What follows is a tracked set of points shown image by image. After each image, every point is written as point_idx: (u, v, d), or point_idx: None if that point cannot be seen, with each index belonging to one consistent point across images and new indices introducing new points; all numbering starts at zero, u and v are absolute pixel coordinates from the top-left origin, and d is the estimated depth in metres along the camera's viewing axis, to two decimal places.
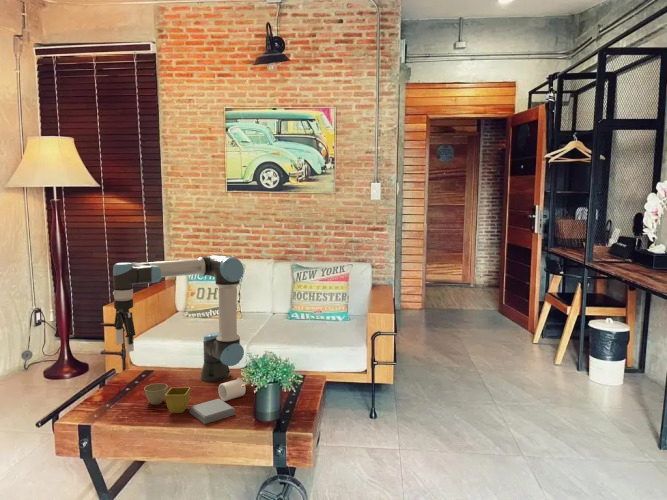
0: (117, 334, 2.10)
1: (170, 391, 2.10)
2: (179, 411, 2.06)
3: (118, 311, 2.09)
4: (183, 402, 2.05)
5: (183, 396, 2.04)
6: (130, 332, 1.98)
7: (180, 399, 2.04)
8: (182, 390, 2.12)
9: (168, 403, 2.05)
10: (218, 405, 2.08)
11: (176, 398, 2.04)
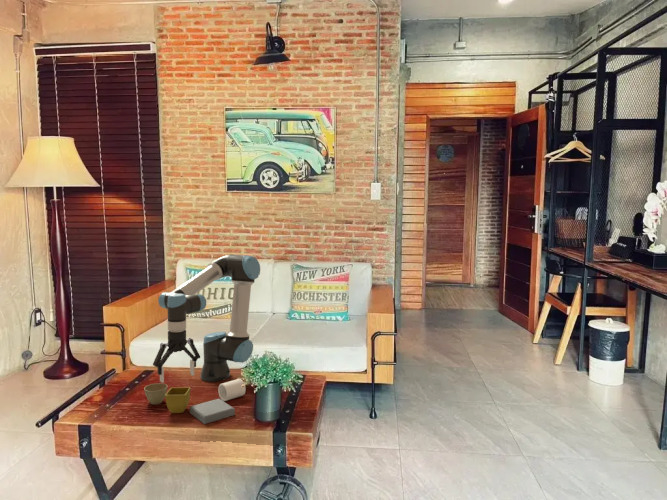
0: (190, 364, 2.12)
1: (170, 391, 2.10)
2: (179, 411, 2.06)
3: None
4: (183, 402, 2.05)
5: (183, 396, 2.04)
6: (154, 362, 2.01)
7: (180, 399, 2.04)
8: (182, 390, 2.12)
9: (168, 403, 2.05)
10: (218, 405, 2.08)
11: (176, 398, 2.04)
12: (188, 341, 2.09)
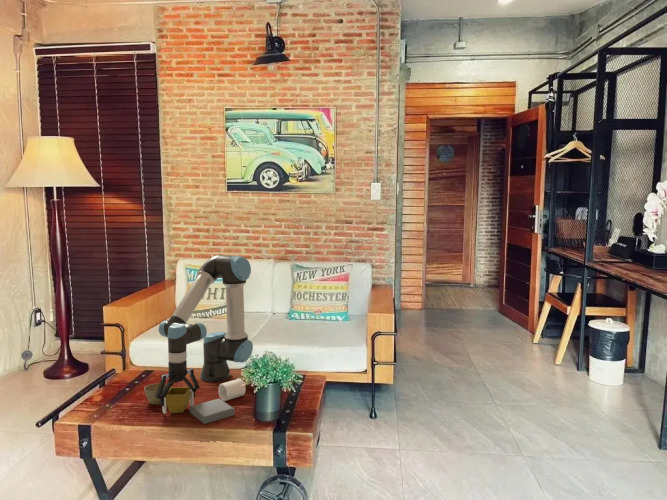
0: None
1: (170, 391, 2.10)
2: (179, 411, 2.06)
3: None
4: (183, 402, 2.05)
5: (183, 396, 2.04)
6: (156, 394, 2.03)
7: (180, 399, 2.04)
8: (182, 390, 2.12)
9: (168, 403, 2.05)
10: (218, 405, 2.08)
11: (176, 398, 2.04)
12: (189, 371, 2.11)
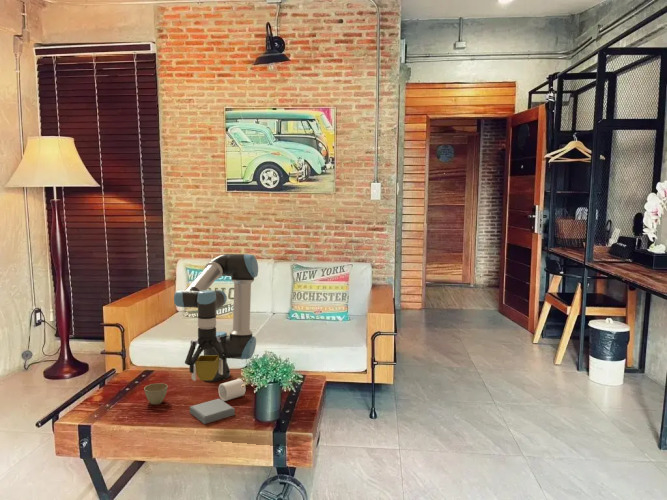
0: (219, 363, 2.09)
1: (199, 359, 2.07)
2: (208, 378, 2.02)
3: None
4: (213, 369, 2.01)
5: (213, 363, 2.00)
6: (186, 360, 1.99)
7: (210, 366, 2.00)
8: (211, 358, 2.08)
9: (197, 370, 2.01)
10: (218, 405, 2.08)
11: (205, 365, 2.00)
12: (218, 338, 2.07)
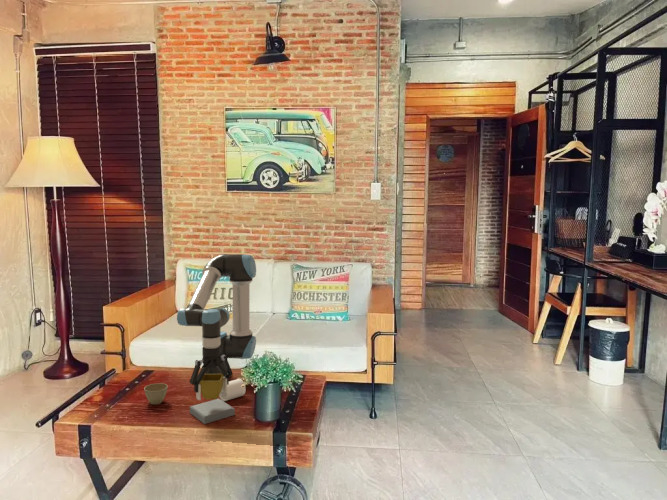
0: (223, 381, 2.10)
1: (203, 377, 2.07)
2: (213, 397, 2.03)
3: None
4: (217, 388, 2.01)
5: (217, 382, 2.01)
6: (191, 380, 2.00)
7: (214, 385, 2.01)
8: (215, 376, 2.09)
9: (202, 389, 2.01)
10: (218, 405, 2.08)
11: (210, 384, 2.01)
12: (222, 357, 2.07)
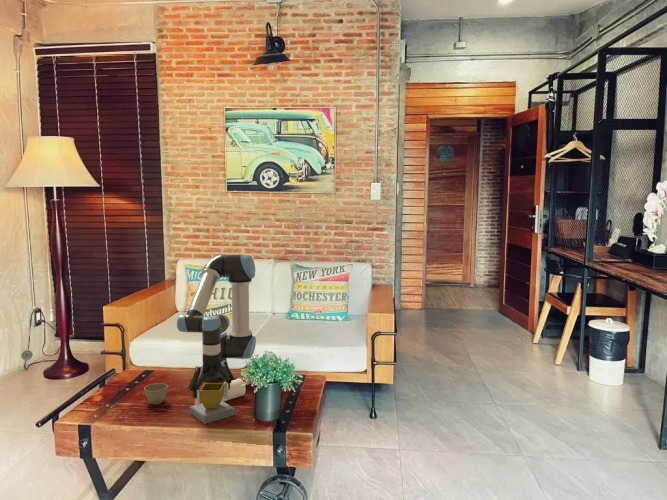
0: (224, 386, 2.11)
1: (204, 387, 2.08)
2: (214, 407, 2.04)
3: None
4: (218, 398, 2.02)
5: (218, 392, 2.02)
6: (189, 386, 1.99)
7: (215, 395, 2.02)
8: (216, 385, 2.10)
9: (203, 399, 2.02)
10: None
11: (211, 394, 2.02)
12: (222, 363, 2.08)
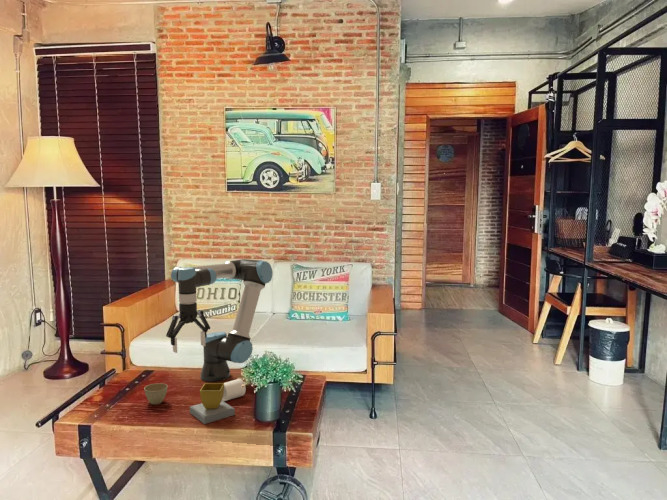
0: (201, 335, 2.20)
1: (204, 387, 2.08)
2: (214, 407, 2.04)
3: None
4: (218, 398, 2.02)
5: (218, 392, 2.02)
6: (167, 333, 2.09)
7: (215, 395, 2.02)
8: (216, 385, 2.10)
9: (203, 399, 2.02)
10: None
11: (211, 394, 2.02)
12: (198, 313, 2.17)
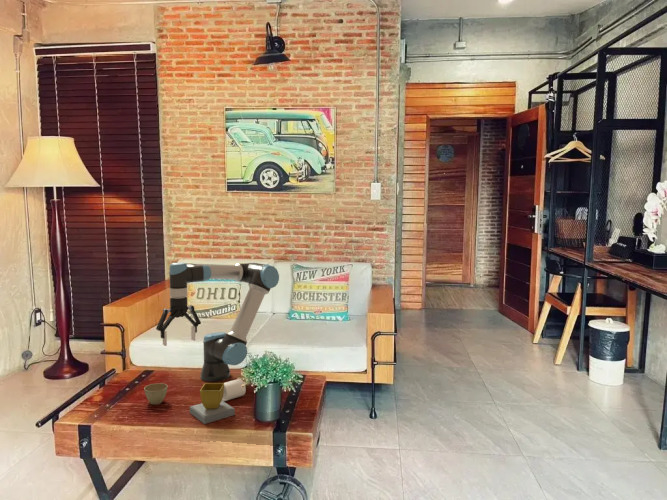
0: (191, 330, 2.24)
1: (204, 387, 2.08)
2: (214, 407, 2.04)
3: (189, 308, 2.22)
4: (218, 398, 2.02)
5: (218, 392, 2.02)
6: (157, 326, 2.13)
7: (215, 395, 2.02)
8: (216, 385, 2.10)
9: (203, 399, 2.02)
10: None
11: (211, 394, 2.02)
12: (189, 307, 2.21)
